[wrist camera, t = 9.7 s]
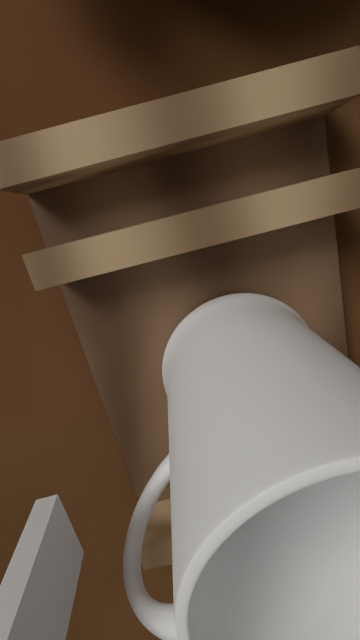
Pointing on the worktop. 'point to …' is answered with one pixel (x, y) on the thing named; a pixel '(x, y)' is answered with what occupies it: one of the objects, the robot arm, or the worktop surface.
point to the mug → (255, 480)
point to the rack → (186, 230)
